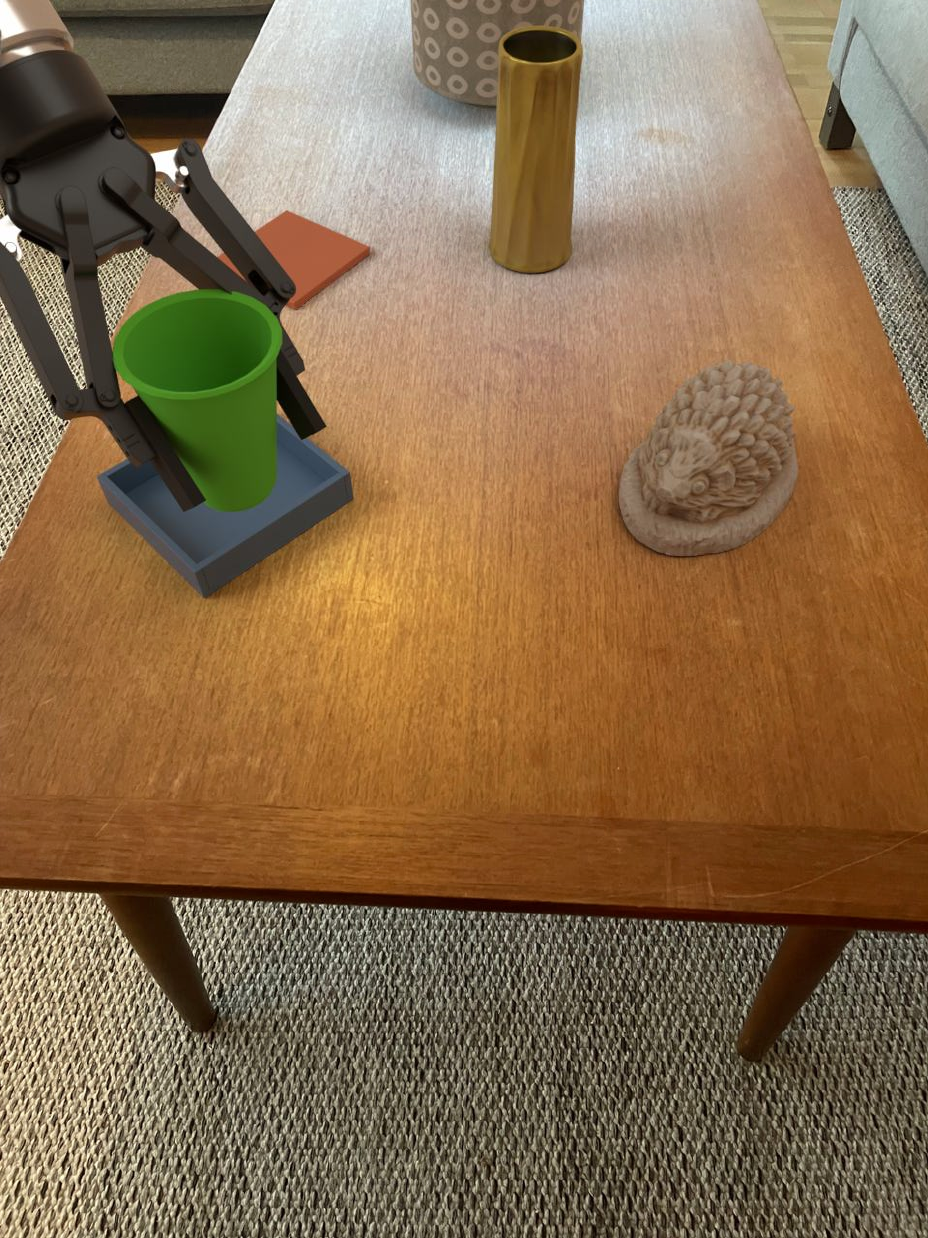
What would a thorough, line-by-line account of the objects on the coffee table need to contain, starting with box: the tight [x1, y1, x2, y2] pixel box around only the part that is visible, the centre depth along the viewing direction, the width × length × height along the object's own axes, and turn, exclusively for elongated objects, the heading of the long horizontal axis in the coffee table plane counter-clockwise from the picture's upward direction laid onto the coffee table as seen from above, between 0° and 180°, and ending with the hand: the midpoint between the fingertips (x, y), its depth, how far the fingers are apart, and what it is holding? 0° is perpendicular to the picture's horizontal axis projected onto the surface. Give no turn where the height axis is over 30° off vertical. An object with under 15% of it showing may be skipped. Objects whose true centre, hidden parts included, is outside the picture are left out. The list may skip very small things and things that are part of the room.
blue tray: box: [96, 413, 355, 599], centre depth 76 cm, size 14×13×3 cm
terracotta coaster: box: [217, 209, 371, 310], centre depth 96 cm, size 11×11×1 cm
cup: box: [112, 289, 282, 512], centre depth 57 cm, size 9×9×11 cm
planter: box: [409, 0, 585, 110], centre depth 109 cm, size 19×19×18 cm
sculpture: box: [618, 359, 800, 557], centre depth 74 cm, size 12×17×10 cm
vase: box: [488, 26, 584, 274], centre depth 89 cm, size 8×8×19 cm
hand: (255, 468), depth 57 cm, fingers closed on cup, 8 cm apart
